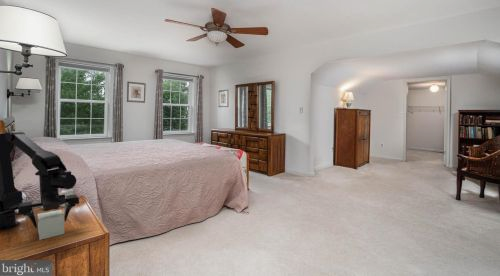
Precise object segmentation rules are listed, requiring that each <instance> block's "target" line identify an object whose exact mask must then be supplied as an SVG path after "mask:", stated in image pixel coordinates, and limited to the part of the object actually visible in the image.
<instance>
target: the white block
mask: <svg viewBox="0 0 500 276" xmlns="http://www.w3.org/2000/svg"><path fill="white" fill-rule="evenodd" d="M37 231H38V232H37V233H38V237H39V238H38V239H39V241H41V240H44V239H48V238H53V237H56V236H61V235H65V221H64V213H63V211H62V209H55V210H50V211H44V212H41V213H37Z"/></svg>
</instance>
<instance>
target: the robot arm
mask: <svg viewBox="0 0 500 276" xmlns="http://www.w3.org/2000/svg"><path fill="white" fill-rule="evenodd" d="M16 147H17V148H18V149H19V150H20V151H21V152H23V153H24V154H25V155H27V156H28V157H29V158H30V159H31V164H32V165H33V167H34V168H35V169H36V170H37V171H36V172H35V173H34V176H37V177H38V176H39V178H38V179H39V180H38V181H39V200H41V203H40V202H36V203H32V202H33V201H32V200H31V201H26V202H25V201H23V200H24V198H23V191H22V190H19V189H17V188H16V186H15V179H14V171H13V170H14V169H13V164H12V156H11V154H12V152H13V151H14V149H15V148H16ZM76 185H77V178H76V176H75V175H74V174H72V171H71V170H70V171H69V170H68V169H67V168H66V165H65V164H64V163H63V161H62V159H61V158H60V155H58V154H56V153H55V152H52V151H50V150H45V149H44V148H42V147H41V146H40V145H38V144H37V143H36V142H35V141H34V140H32V139H31V138H29V137H28V136H27V135H26V133H25V132H24V131H21V130H17V131H16V130H14V131H7V132H0V231H4V230H7V229H9V228H12V227H15V226H18V225H20V224H21V222H19V221H16V218H17V217H16V211H17V212H18V213H17V215H20V216H21V215H23V217H24V216H27V217H28V218H29V219H30V220H31V223H32V225H33V226H34V228H37V229H38V223H37V218H36V214H35V211H34V210H35V209H42V208H41V207H43V209H42V210H43V211H44V212H50V211H54V210H59V209H60V207H61V205H62V204H65V207H64V213H63V215H64V222H66V221H67V219H68V216H69V214H70V211H72V210H71V209H72V208H73V207H76V205H79V204H80V197H79V196H78V195H77V194H74V193H73V195H68V196H66V198H65V195H60V192H59V191H60V190H61V189H63V190H64V189H73V188H74V187H75V186H76ZM59 189H60V190H59Z"/></svg>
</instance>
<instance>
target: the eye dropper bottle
mask: <svg viewBox="0 0 500 276" xmlns="http://www.w3.org/2000/svg"><path fill="white" fill-rule="evenodd" d="M59 195H65V198H66V196H68V195H74V190H73V188H71V189H63V190H62V191H60V192H59ZM60 207H61V208H62V207H63V208H65V204H62V205H60Z"/></svg>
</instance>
